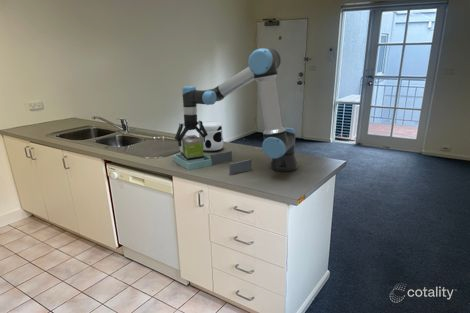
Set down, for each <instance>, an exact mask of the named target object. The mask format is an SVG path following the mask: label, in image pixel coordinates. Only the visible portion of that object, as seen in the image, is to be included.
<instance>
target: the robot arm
mask: <svg viewBox="0 0 470 313" xmlns="http://www.w3.org/2000/svg"><path fill="white" fill-rule="evenodd" d="M281 58H282V57H281V55H280V53H279V52H278V51H277V50H276V49H273V48H265V47H262V48H258V49H255V50H254V51H252V52H251V54H250V55H249V58H248V60H247V62H248V66H247V67H246V68H244V69H243V70H241V71H240V72H238V73H236V74H235V75H233V76H232V77H230V78H228V79H226V80H225V81H224V82H221V84H218V85H217V86H215V87H213V88H210V89H205V90H201V89H200V90H197V89H196V88H197V87H196V86H194V85H186V86H183V87H182V89H181V90H182V94H181V95H182V102H183V104H182V106H183V107H182V109H183V123H181V122H180V123H179V124H178V129H177V131H176V134H175V136H174V140H176V141H177V143H178V147H179V151H180V153H181V152H183V141H182V139H183V137H184V136H186V134H187V132H189V131H194V130H195V131H196V132H197V133H198V134H200V135H201V136H202V137H200V139H201V140H203V148H204V142H205V137H206V136H207V135H208V134H207V132H206V130H205V128H204V126H203V124H202V122H203V121H202V120H198V115H197V114H198V109H197V108H198V106H197V105H207V106H209V105H214V104H215V103H216V102H220V101H222V100H224V99H225V98H226V97H227V96H229V95H231V94H232V93H235V91H238V90H239V89H241V88H242V87H244V86H246V85H248V84H250V83H251V82H253V81H256V82H257V86H258V91H259V98H260V104H261V111H262V114H263V115H262V116H263V122H264V131H263V132H262V134H263V142H262V144H261V149H262V151H263V153H264V155H265V156H267V157H268V158H270V159H271V161H270V164H269V169H271V170H273V171H276V172H282V173H285V172H286V173H289V172H293V171H296V170H297V169H298V163H297V159H296V155H295V152H296V151H295V148H296V129H295V128H294V127H288V126H287V127H284V126H283V124H282V116H281V108H280V103H279V96H278V90H277V83H276V78H277V77H278V75H279V74H278V69H279V68H280V66H281V64H282V62H281V61H282V59H281ZM199 126H200V128H201V130H202V131H203V133H204V134H203V133H202V132H201V131H200V130H199Z"/></svg>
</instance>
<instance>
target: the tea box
mask: <svg viewBox="0 0 470 313" xmlns="http://www.w3.org/2000/svg"><path fill="white" fill-rule="evenodd" d="M182 141H183V152H181V151H180V154H181V159H183V160H184V161H186V162H188V163H193V162H198V161H203V160H204V155H205V153H204V151H203V140H201V139H200V138H199V137H198V136H197V135H196V134H190V135H184V137H183V139H182Z"/></svg>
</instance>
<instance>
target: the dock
mask: <svg viewBox="0 0 470 313" xmlns="http://www.w3.org/2000/svg"><path fill="white" fill-rule="evenodd" d="M210 158H211V159H212V165H211V166H215V165H218V164H219V165H220V164H223V163H227V162H231V163H229V164H228V165H229V166H228V175H229V176H233V175H237V174H241V173H244V172H248V171H252V170H253V169H252V166H253V165H252V159H251V158H249V159H245V160H240V161H236V162H232V161H233V152H232V150H229V151H224V152H219V153H213V154H212V153H211V154H210Z"/></svg>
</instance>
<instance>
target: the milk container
mask: <svg viewBox="0 0 470 313" xmlns="http://www.w3.org/2000/svg"><path fill="white" fill-rule="evenodd" d="M202 124H203V126H204V128H205V130H206V132H207V134H208V135H207V136H206V137H205V142H204V148H203V152H210V153H211V152H219V151H221V150H222V149H224V145H225V141H224V140H225V139H224V136H223V123H222V122H221V121H202ZM198 128H199V130H200V131H201V132H202V133H203V131H202V130H201V128H200V126H199V125H198ZM198 134H199V133H198ZM203 134H204V133H203ZM198 136H199V138H200V137H202V136H201V135H200V134H199V135H198Z"/></svg>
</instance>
